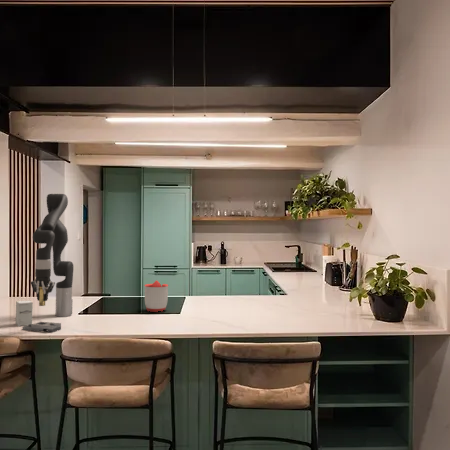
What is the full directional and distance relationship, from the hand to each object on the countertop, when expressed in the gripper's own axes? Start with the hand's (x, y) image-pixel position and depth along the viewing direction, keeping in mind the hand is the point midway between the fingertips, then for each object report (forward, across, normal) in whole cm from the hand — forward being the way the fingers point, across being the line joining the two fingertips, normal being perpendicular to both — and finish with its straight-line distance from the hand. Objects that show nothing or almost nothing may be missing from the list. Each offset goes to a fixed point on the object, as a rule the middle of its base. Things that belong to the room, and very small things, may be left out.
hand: (42, 300), depth 221 cm
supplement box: (+16, +17, -7) cm, 24 cm away
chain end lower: (+15, +3, 0) cm, 16 cm away
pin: (+3, 0, 0) cm, 3 cm away
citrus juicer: (+15, -36, -67) cm, 78 cm away
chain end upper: (+15, -3, 0) cm, 16 cm away
